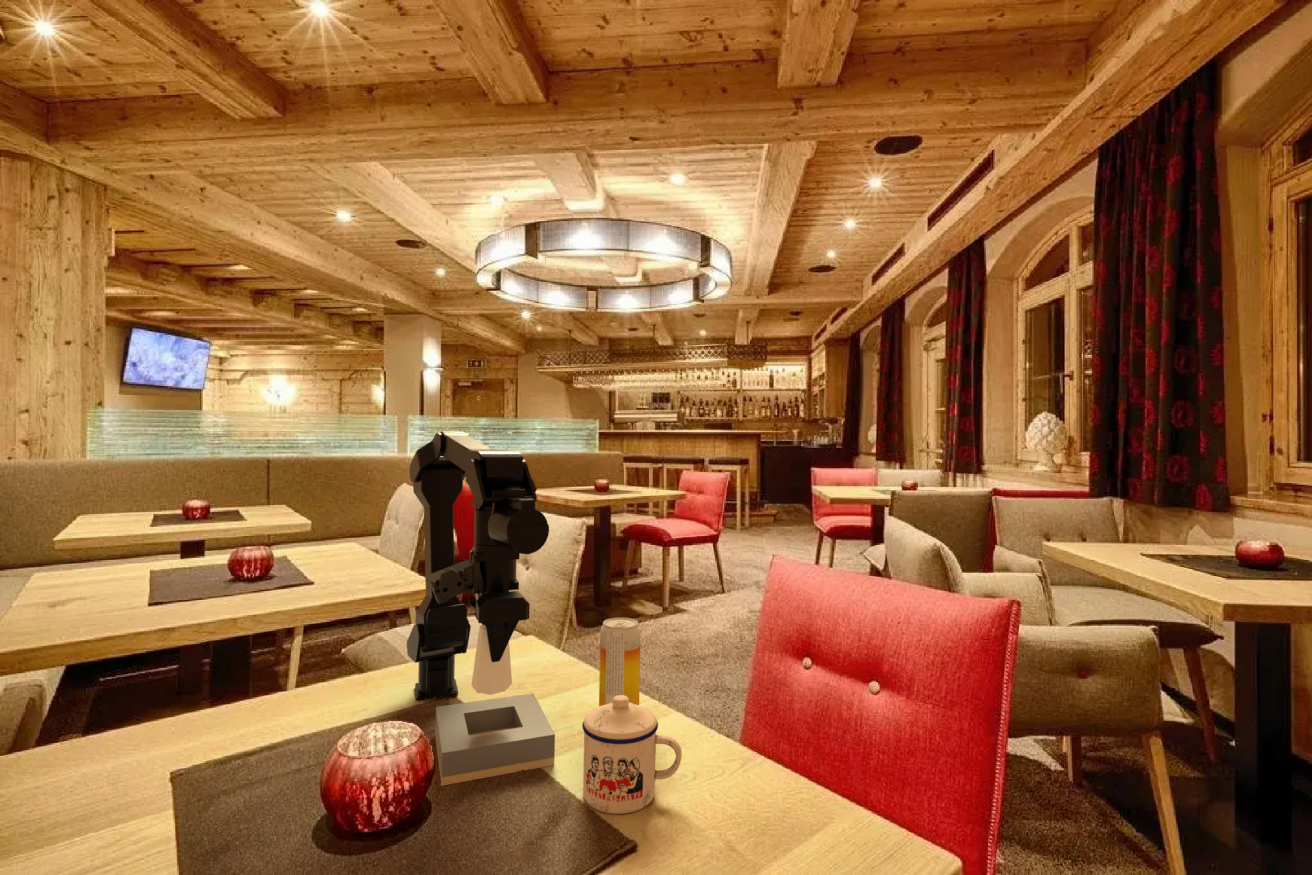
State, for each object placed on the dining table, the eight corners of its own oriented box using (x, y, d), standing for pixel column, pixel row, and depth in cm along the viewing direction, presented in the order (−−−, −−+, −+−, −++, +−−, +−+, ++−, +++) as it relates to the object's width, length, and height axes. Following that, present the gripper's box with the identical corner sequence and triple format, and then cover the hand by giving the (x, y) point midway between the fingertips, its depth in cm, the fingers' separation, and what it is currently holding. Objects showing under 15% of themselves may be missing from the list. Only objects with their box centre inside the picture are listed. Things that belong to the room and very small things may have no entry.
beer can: (641, 713, 97) (642, 617, 98) (636, 732, 91) (637, 629, 91) (602, 711, 98) (604, 615, 98) (595, 729, 92) (596, 627, 92)
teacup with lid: (572, 813, 71) (574, 711, 71) (590, 771, 80) (592, 680, 81) (677, 822, 70) (679, 718, 70) (683, 778, 79) (685, 686, 79)
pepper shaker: (490, 699, 82) (492, 618, 81) (462, 686, 85) (464, 608, 84) (520, 684, 87) (522, 607, 86) (493, 672, 90) (495, 597, 89)
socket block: (435, 734, 89) (435, 706, 89) (533, 719, 95) (533, 693, 95) (441, 785, 77) (442, 752, 77) (554, 764, 82) (554, 734, 82)
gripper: (430, 534, 91) (427, 641, 91) (437, 558, 74) (434, 690, 74) (507, 531, 95) (505, 633, 96) (531, 553, 78) (528, 678, 78)
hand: (493, 656), depth 86 cm, fingers closed on pepper shaker, 4 cm apart
